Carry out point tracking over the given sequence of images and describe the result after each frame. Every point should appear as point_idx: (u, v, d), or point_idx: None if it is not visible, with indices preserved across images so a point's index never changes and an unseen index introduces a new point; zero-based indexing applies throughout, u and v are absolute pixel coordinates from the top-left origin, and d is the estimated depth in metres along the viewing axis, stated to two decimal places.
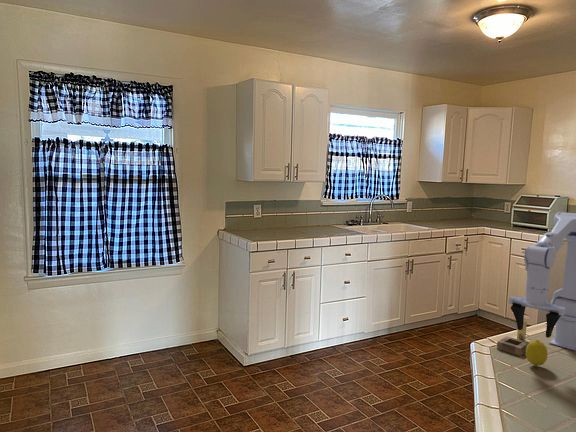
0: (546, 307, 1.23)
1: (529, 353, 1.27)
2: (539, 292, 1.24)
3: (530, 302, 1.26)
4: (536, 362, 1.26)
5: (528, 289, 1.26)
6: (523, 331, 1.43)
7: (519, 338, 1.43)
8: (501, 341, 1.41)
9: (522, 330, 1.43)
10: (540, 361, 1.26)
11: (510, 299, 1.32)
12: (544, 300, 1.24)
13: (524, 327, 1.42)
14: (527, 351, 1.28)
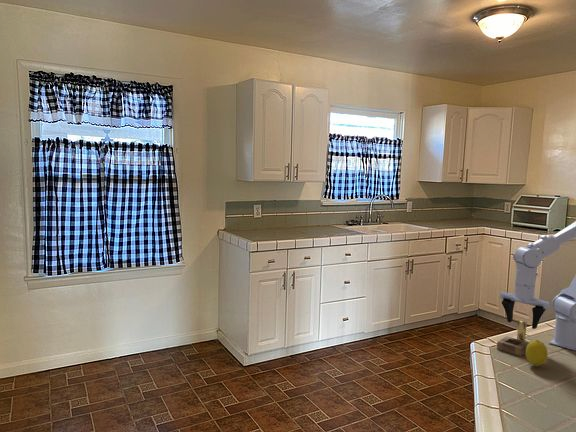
0: (532, 301, 1.39)
1: (529, 353, 1.27)
2: (526, 288, 1.40)
3: (518, 297, 1.41)
4: (536, 362, 1.26)
5: (517, 285, 1.42)
6: (523, 331, 1.43)
7: (519, 338, 1.43)
8: (501, 341, 1.41)
9: (522, 330, 1.43)
10: (540, 361, 1.26)
11: (501, 295, 1.47)
12: (531, 295, 1.40)
13: (524, 327, 1.42)
14: (527, 351, 1.28)
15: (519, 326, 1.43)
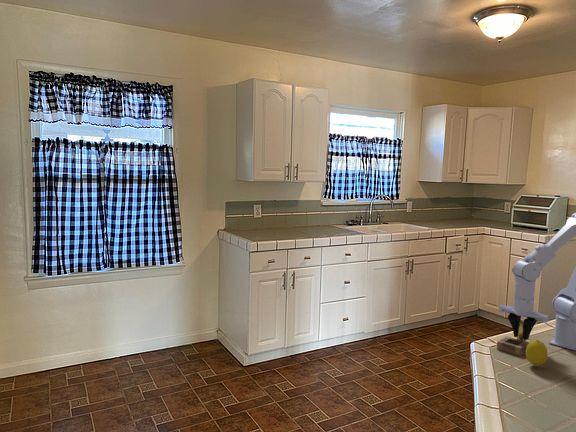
0: (531, 315, 1.39)
1: (529, 353, 1.27)
2: (525, 302, 1.40)
3: (517, 310, 1.42)
4: (536, 362, 1.26)
5: (516, 299, 1.42)
6: (523, 331, 1.43)
7: (519, 338, 1.43)
8: (501, 341, 1.41)
9: (522, 330, 1.43)
10: (540, 361, 1.26)
11: (500, 307, 1.48)
12: (530, 309, 1.40)
13: None
14: (527, 351, 1.28)
15: (519, 326, 1.43)
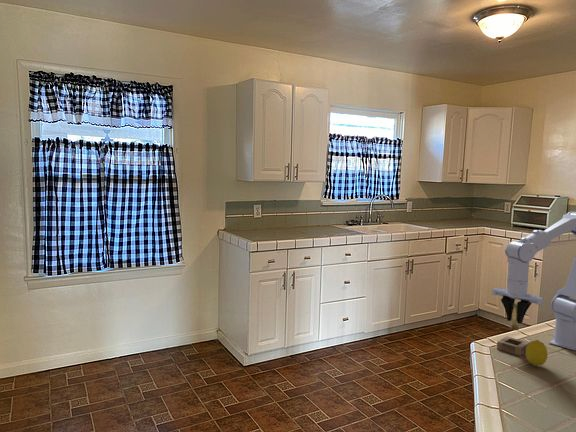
0: (525, 297, 1.35)
1: (529, 353, 1.27)
2: (519, 284, 1.36)
3: (511, 293, 1.37)
4: (536, 362, 1.26)
5: (509, 281, 1.38)
6: (517, 314, 1.38)
7: (513, 321, 1.39)
8: (501, 341, 1.41)
9: (516, 313, 1.38)
10: (540, 361, 1.26)
11: (493, 290, 1.43)
12: (524, 291, 1.36)
13: (517, 309, 1.38)
14: (527, 351, 1.28)
15: (513, 309, 1.39)
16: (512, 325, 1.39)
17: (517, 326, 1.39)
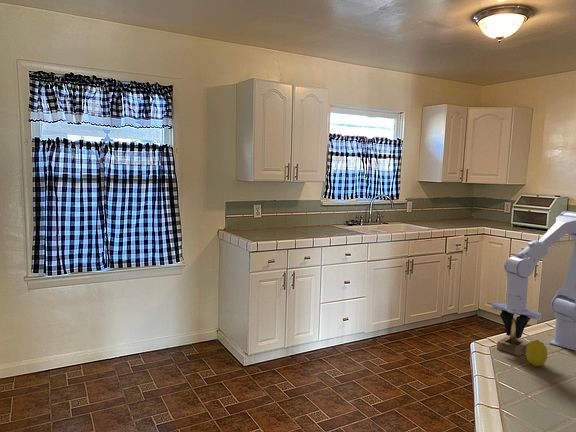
0: (524, 313, 1.35)
1: (529, 353, 1.27)
2: (518, 299, 1.36)
3: (510, 308, 1.38)
4: (536, 362, 1.26)
5: (508, 296, 1.38)
6: (516, 329, 1.39)
7: (512, 336, 1.39)
8: (501, 341, 1.41)
9: (515, 328, 1.39)
10: (540, 361, 1.26)
11: (492, 305, 1.44)
12: (522, 306, 1.36)
13: (516, 324, 1.38)
14: (527, 351, 1.28)
15: (512, 324, 1.39)
16: (511, 340, 1.39)
17: (516, 341, 1.39)
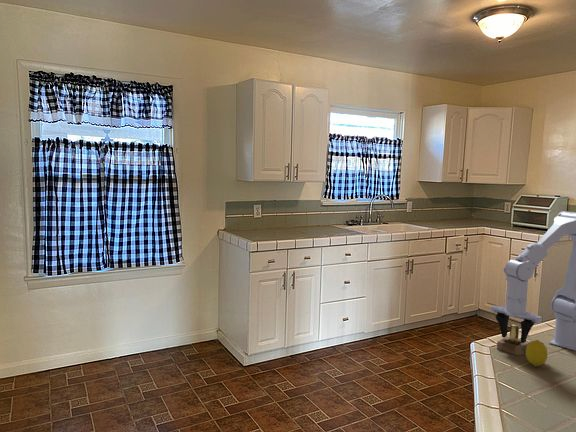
0: (524, 316, 1.35)
1: (529, 353, 1.27)
2: (518, 302, 1.36)
3: (510, 311, 1.38)
4: (536, 362, 1.26)
5: (508, 299, 1.38)
6: (515, 335, 1.39)
7: (511, 342, 1.39)
8: (501, 341, 1.41)
9: (514, 334, 1.39)
10: (540, 361, 1.26)
11: (492, 308, 1.44)
12: (522, 310, 1.36)
13: (516, 331, 1.39)
14: (527, 351, 1.28)
15: (511, 330, 1.39)
16: None
17: None
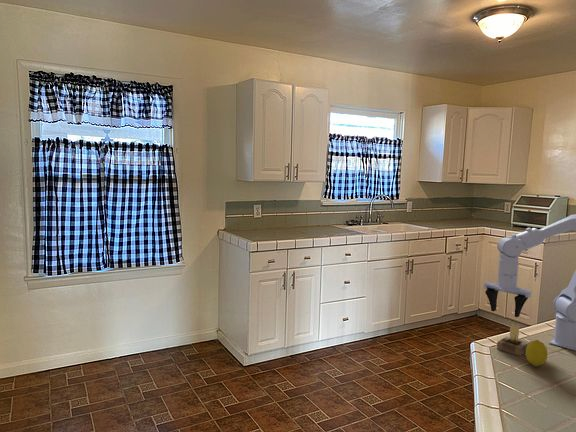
0: (515, 290, 1.42)
1: (529, 353, 1.27)
2: (509, 277, 1.43)
3: (501, 286, 1.45)
4: (536, 362, 1.26)
5: (500, 275, 1.45)
6: (515, 335, 1.39)
7: (511, 342, 1.39)
8: (501, 341, 1.41)
9: (514, 334, 1.39)
10: (540, 361, 1.26)
11: (485, 284, 1.51)
12: (513, 284, 1.43)
13: (516, 331, 1.39)
14: (527, 351, 1.28)
15: (511, 330, 1.39)
16: None
17: None
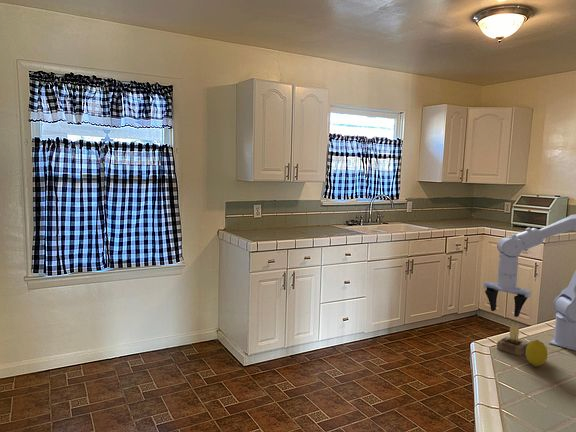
0: (514, 290, 1.42)
1: (529, 353, 1.27)
2: (508, 277, 1.43)
3: (501, 286, 1.45)
4: (536, 362, 1.26)
5: (499, 275, 1.45)
6: (515, 335, 1.39)
7: (511, 342, 1.40)
8: (501, 341, 1.41)
9: (514, 334, 1.39)
10: (540, 361, 1.26)
11: (485, 284, 1.51)
12: (513, 284, 1.43)
13: (516, 331, 1.39)
14: (527, 351, 1.28)
15: (511, 330, 1.39)
16: None
17: None
